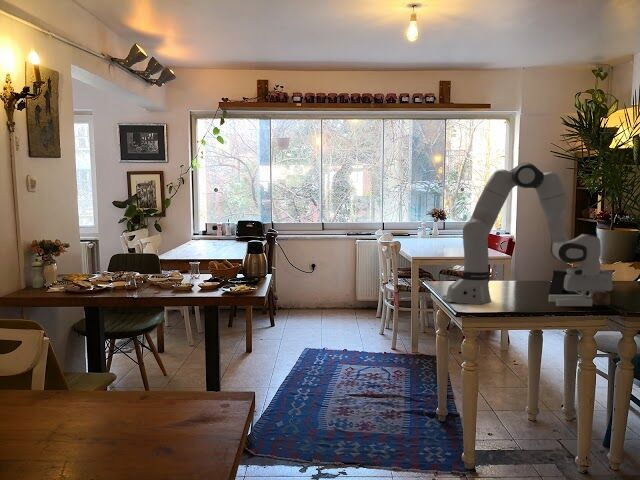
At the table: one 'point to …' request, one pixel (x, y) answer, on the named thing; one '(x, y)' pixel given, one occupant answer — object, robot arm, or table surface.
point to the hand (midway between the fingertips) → (587, 300)
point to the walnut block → (601, 298)
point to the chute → (570, 300)
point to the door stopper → (558, 282)
